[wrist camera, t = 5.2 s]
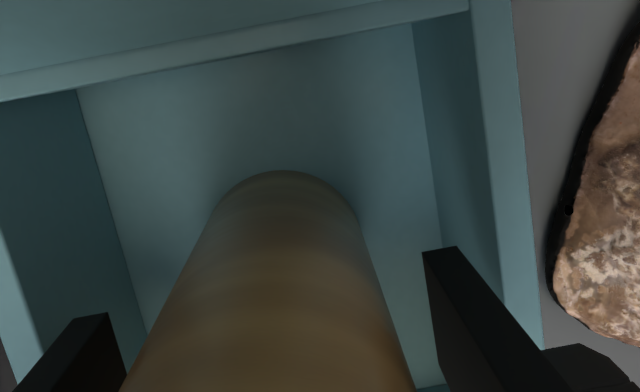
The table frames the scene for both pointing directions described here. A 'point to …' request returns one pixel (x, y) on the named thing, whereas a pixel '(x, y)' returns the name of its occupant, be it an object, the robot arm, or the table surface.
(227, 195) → the pepper mill
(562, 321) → the table surface
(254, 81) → the chest
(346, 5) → the lid
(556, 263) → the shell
